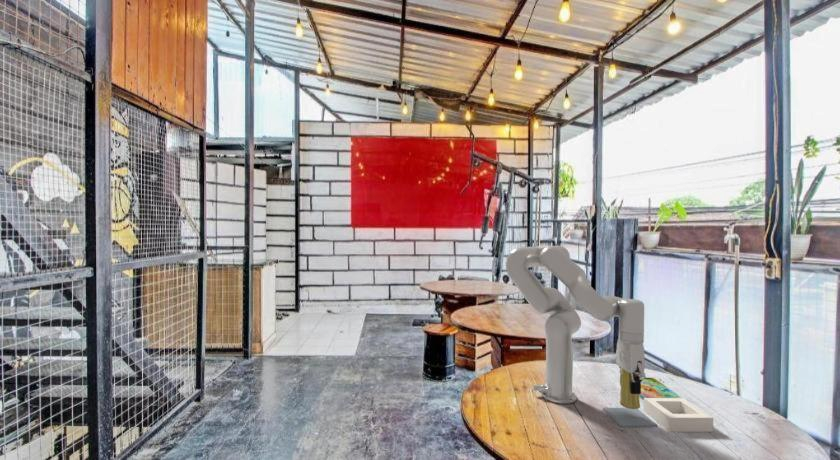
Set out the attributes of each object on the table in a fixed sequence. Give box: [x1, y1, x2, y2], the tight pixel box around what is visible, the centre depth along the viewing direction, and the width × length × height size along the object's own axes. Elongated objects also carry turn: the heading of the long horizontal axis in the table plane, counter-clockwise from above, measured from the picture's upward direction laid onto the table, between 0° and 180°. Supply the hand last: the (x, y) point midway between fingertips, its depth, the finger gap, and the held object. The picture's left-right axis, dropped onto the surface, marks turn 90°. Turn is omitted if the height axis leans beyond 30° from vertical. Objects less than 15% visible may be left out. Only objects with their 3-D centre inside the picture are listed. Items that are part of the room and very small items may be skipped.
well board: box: [643, 397, 714, 433], centre depth 132 cm, size 14×14×4 cm
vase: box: [619, 369, 641, 410], centre depth 134 cm, size 6×6×14 cm
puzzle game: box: [639, 377, 683, 401], centre depth 151 cm, size 12×5×20 cm
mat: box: [602, 407, 658, 428], centre depth 134 cm, size 12×12×1 cm
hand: (630, 389), depth 134 cm, fingers closed on vase, 5 cm apart
